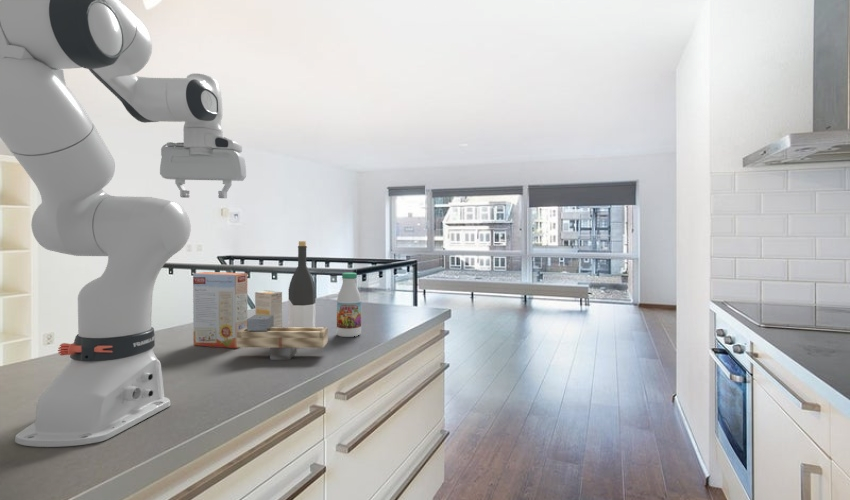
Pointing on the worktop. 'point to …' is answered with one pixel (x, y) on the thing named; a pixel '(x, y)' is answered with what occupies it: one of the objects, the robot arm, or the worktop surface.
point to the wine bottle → (301, 293)
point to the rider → (260, 323)
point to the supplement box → (269, 305)
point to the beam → (284, 340)
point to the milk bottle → (349, 307)
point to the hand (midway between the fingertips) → (203, 197)
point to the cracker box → (219, 308)
